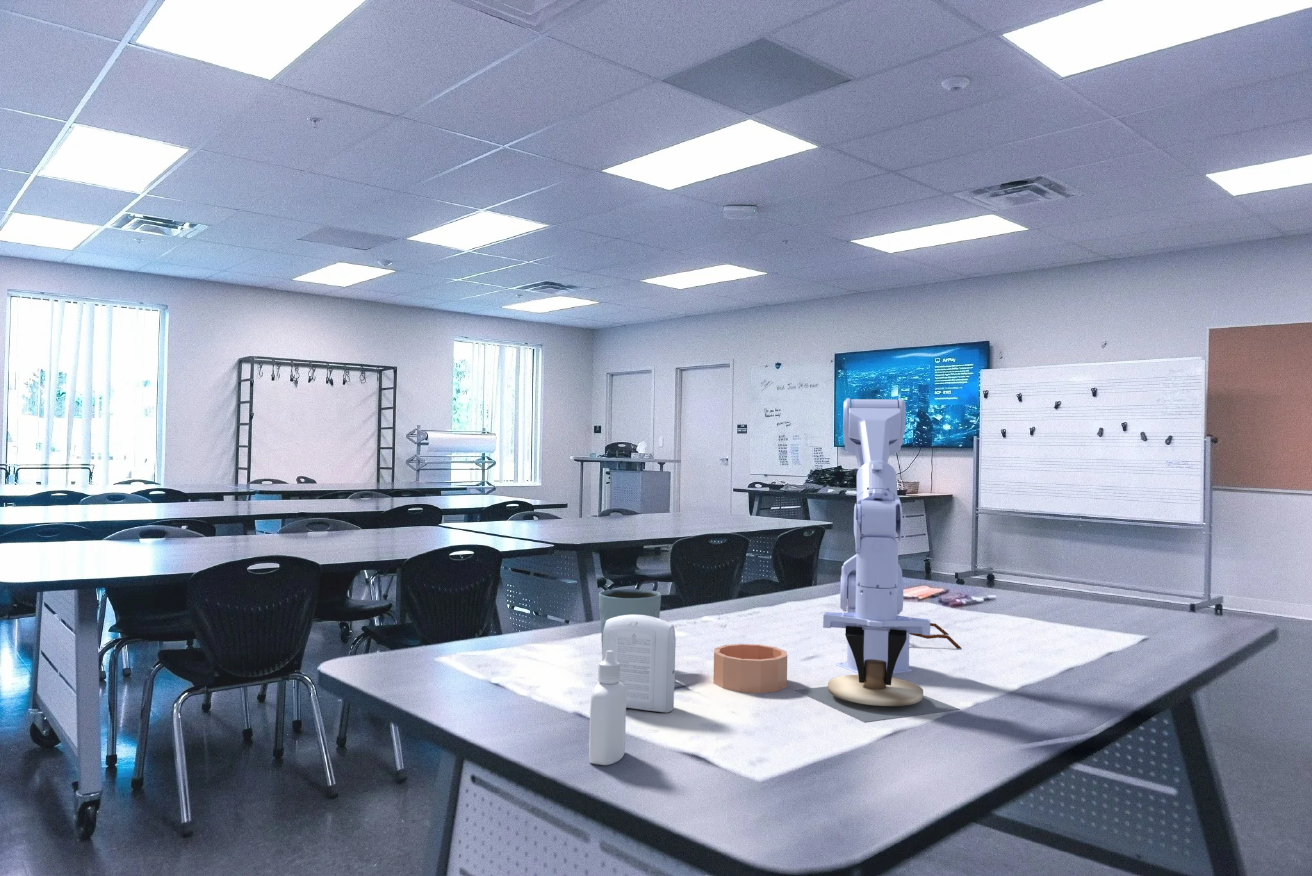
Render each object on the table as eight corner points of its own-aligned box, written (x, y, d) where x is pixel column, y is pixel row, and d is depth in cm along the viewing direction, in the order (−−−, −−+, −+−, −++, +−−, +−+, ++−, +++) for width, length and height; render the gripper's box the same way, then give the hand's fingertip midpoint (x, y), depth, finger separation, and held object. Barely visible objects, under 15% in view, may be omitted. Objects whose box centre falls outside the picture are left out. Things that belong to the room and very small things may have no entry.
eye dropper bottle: (575, 757, 98) (578, 650, 98) (614, 747, 101) (617, 644, 101) (599, 769, 94) (601, 658, 94) (638, 758, 98) (641, 651, 98)
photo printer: (678, 706, 118) (679, 615, 119) (669, 715, 114) (671, 621, 114) (607, 698, 121) (609, 610, 122) (596, 707, 117) (598, 615, 118)
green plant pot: (623, 679, 132) (625, 600, 132) (583, 666, 139) (585, 591, 140) (673, 669, 138) (674, 594, 139) (632, 657, 146) (633, 586, 146)
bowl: (761, 673, 137) (762, 641, 137) (800, 691, 127) (801, 657, 127) (701, 679, 132) (701, 646, 132) (736, 698, 123) (737, 663, 123)
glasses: (880, 633, 173) (880, 607, 173) (948, 636, 171) (948, 610, 171) (888, 647, 160) (889, 620, 160) (962, 651, 158) (962, 623, 158)
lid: (881, 676, 131) (882, 648, 131) (943, 700, 119) (944, 668, 119) (809, 685, 125) (810, 655, 125) (867, 710, 113) (867, 677, 113)
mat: (883, 683, 133) (883, 680, 133) (960, 712, 118) (960, 709, 118) (794, 693, 126) (794, 689, 126) (864, 725, 111) (864, 721, 111)
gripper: (822, 586, 120) (820, 684, 120) (931, 593, 116) (930, 694, 116) (826, 579, 127) (824, 672, 127) (929, 585, 123) (928, 681, 123)
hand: (875, 682), depth 122 cm, fingers closed on lid, 3 cm apart
